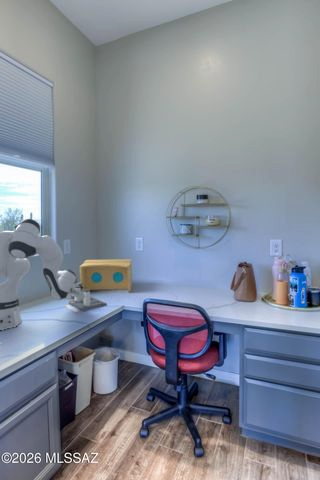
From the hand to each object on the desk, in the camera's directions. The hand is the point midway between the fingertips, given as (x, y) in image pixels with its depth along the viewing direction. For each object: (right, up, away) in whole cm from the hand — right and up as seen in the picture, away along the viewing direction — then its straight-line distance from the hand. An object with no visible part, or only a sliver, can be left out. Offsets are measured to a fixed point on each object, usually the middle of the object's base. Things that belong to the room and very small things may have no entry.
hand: (82, 299), depth 183 cm
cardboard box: (+7, -3, +52) cm, 52 cm away
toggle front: (+2, -5, +3) cm, 6 cm away
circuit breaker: (-15, -5, +29) cm, 33 cm away
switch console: (-1, -6, +9) cm, 11 cm away
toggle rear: (-7, -4, +13) cm, 16 cm away
